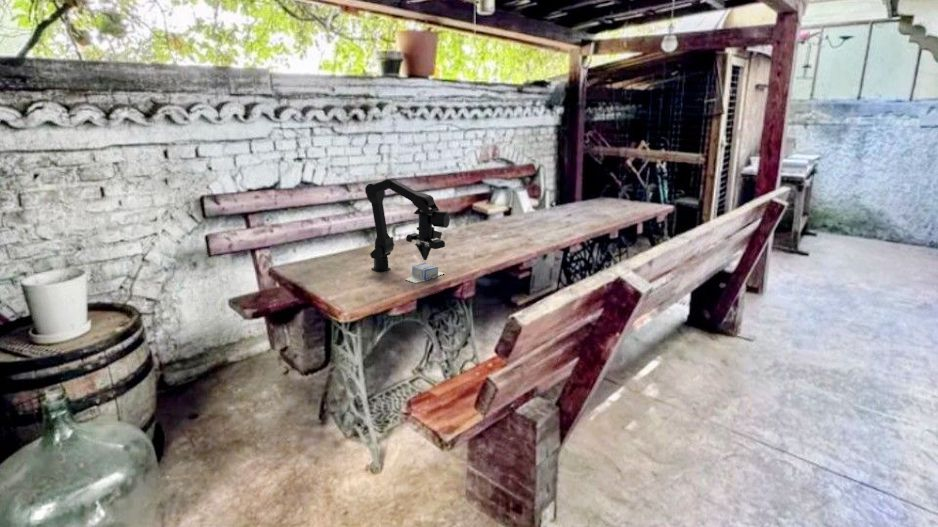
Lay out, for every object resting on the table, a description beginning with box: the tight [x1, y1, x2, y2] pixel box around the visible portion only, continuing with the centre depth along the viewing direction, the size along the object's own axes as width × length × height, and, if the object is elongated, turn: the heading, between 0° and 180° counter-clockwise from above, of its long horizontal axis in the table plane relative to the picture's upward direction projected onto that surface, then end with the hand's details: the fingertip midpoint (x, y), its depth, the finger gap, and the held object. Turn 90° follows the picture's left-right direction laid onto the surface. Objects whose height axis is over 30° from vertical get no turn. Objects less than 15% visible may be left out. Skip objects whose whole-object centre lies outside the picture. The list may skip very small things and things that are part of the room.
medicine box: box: [411, 262, 439, 281], centre depth 224 cm, size 8×4×9 cm
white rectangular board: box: [404, 270, 446, 284], centre depth 225 cm, size 6×18×1 cm, turn 139°
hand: (425, 259), depth 223 cm, fingers closed
